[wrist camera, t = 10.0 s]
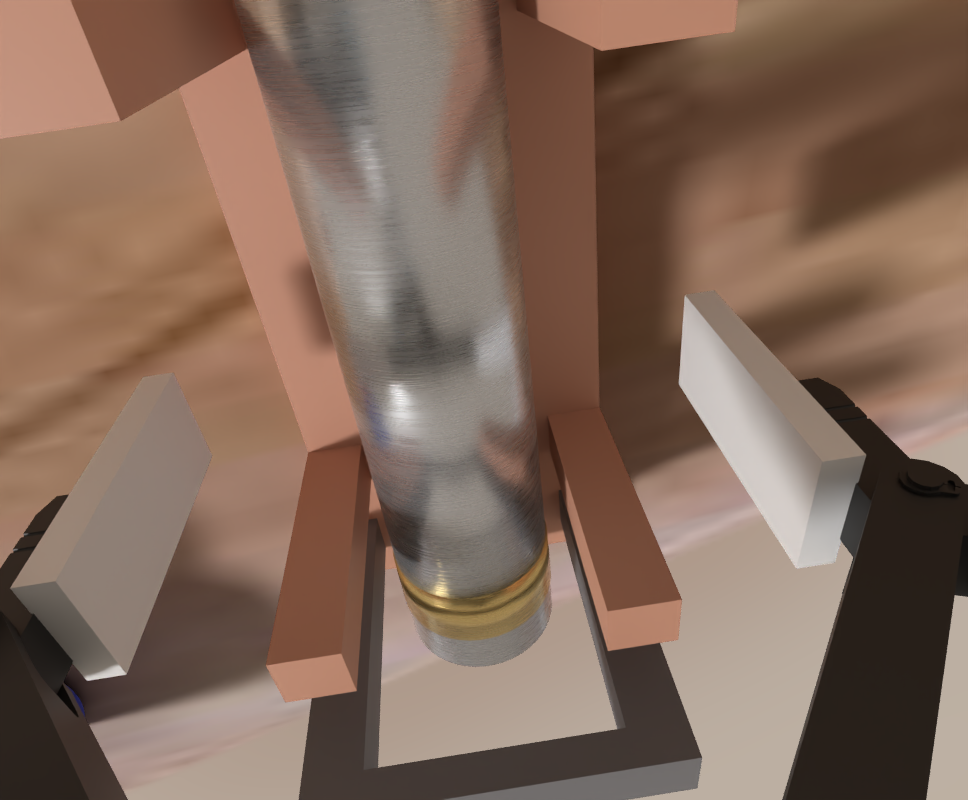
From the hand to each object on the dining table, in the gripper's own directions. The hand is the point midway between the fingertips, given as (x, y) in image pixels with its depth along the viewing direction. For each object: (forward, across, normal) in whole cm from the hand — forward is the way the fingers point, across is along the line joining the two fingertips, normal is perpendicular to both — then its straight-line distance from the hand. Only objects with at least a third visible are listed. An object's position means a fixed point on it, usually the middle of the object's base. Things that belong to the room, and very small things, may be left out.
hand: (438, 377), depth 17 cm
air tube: (+3, -1, 0) cm, 3 cm away
